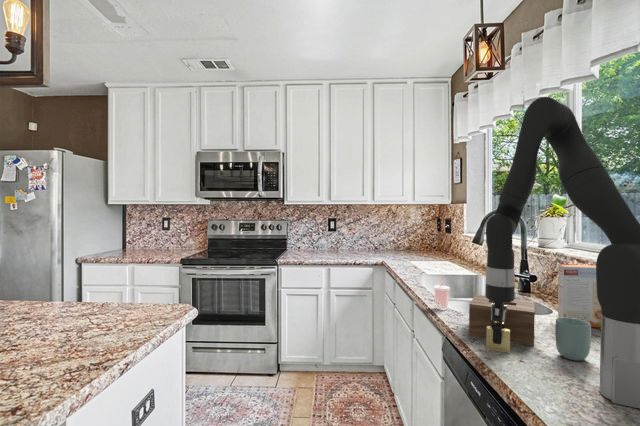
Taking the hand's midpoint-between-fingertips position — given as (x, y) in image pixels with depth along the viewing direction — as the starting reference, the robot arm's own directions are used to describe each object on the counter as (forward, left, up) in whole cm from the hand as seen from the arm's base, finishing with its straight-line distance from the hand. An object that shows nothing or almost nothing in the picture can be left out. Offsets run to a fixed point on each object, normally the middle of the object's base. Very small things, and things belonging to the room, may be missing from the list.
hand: (498, 338), depth 106 cm
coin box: (+15, 0, -3) cm, 16 cm away
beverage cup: (+35, +23, -3) cm, 42 cm away
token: (-1, 0, -3) cm, 3 cm away
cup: (+3, -18, -3) cm, 19 cm away
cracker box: (+40, -24, -3) cm, 47 cm away
